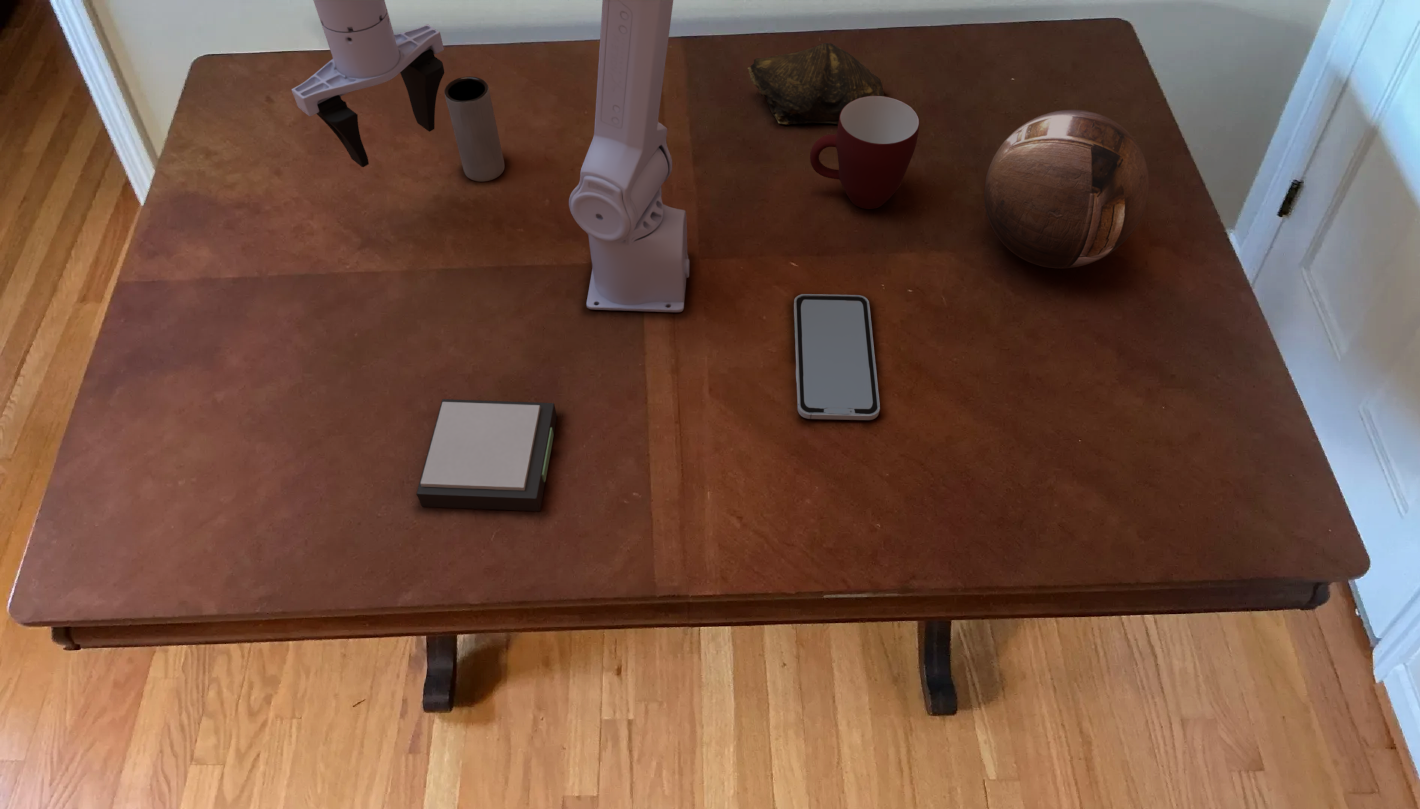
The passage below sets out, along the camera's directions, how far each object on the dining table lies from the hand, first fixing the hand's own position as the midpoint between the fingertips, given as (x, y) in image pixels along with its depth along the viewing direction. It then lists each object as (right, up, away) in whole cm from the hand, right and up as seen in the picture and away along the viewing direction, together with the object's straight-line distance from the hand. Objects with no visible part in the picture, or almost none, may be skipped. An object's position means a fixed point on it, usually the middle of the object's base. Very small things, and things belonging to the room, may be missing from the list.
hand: (393, 143), depth 97 cm
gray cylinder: (+6, +1, +14) cm, 15 cm away
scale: (+12, -30, -11) cm, 34 cm away
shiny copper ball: (+65, -9, +6) cm, 66 cm away
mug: (+47, -3, +10) cm, 48 cm away
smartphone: (+42, -21, -4) cm, 48 cm away
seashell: (+43, +9, +20) cm, 49 cm away
